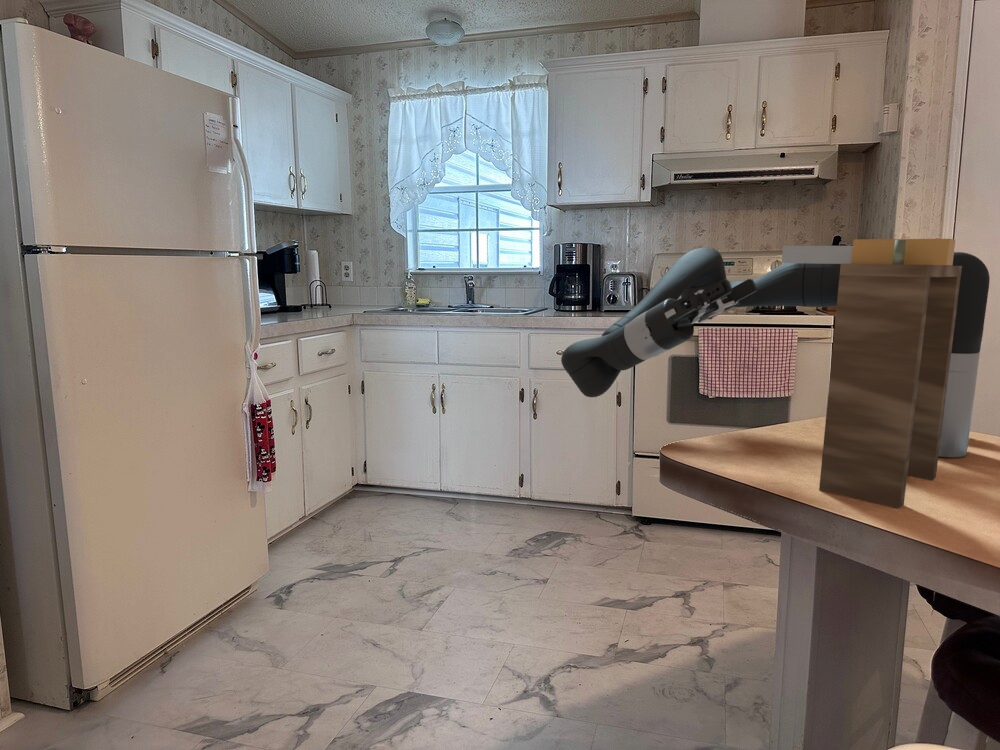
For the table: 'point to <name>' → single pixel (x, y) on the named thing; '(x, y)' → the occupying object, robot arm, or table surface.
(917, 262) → the two-tone rectangular bar
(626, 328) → the robot arm
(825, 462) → the shelf
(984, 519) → the table surface
